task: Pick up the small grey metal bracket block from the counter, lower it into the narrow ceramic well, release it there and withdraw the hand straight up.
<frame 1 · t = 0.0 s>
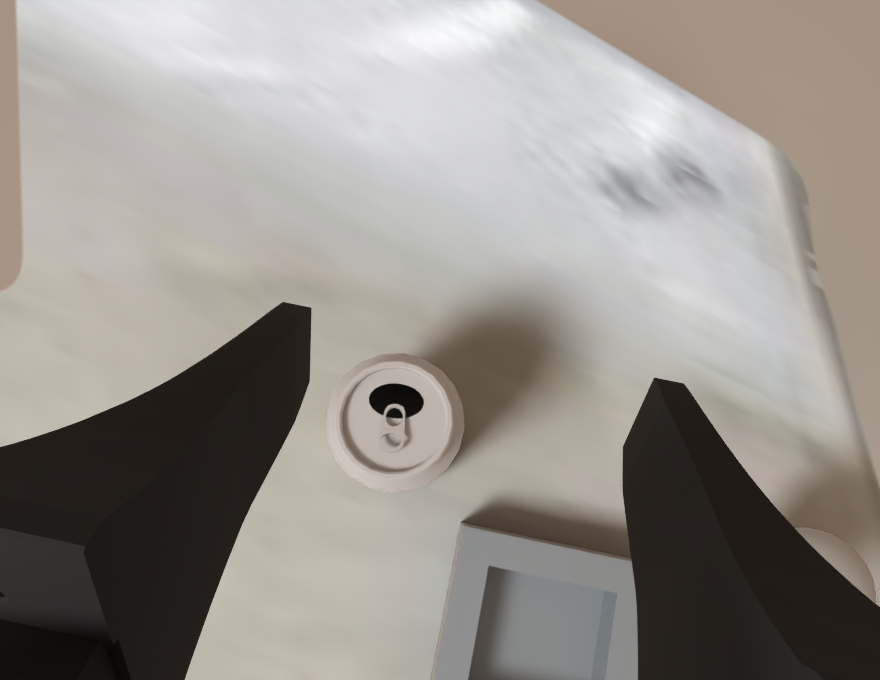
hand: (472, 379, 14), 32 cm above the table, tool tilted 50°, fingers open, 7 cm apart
can: (404, 433, 46), on the table
lightbulb: (741, 565, 44), on the table
well block: (533, 634, 43), on the table
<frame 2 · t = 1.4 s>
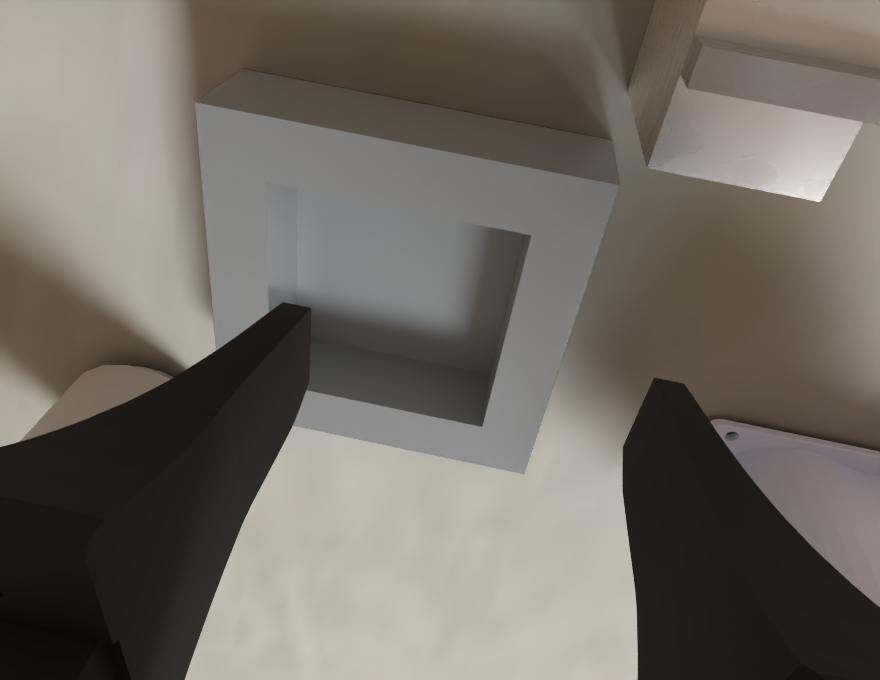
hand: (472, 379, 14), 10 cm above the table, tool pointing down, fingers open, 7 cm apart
can: (158, 411, 32), on the table
bracket: (726, 14, 18), on the table
well block: (405, 264, 25), on the table
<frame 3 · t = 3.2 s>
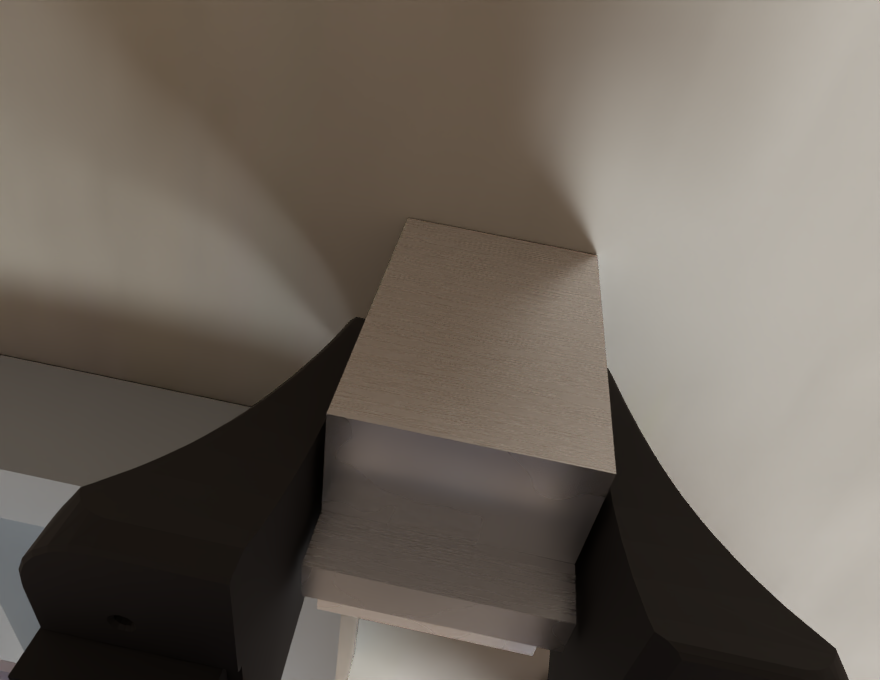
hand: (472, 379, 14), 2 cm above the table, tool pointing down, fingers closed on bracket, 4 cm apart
bracket: (480, 331, 15), on the table, touching gripper
well block: (186, 524, 22), on the table
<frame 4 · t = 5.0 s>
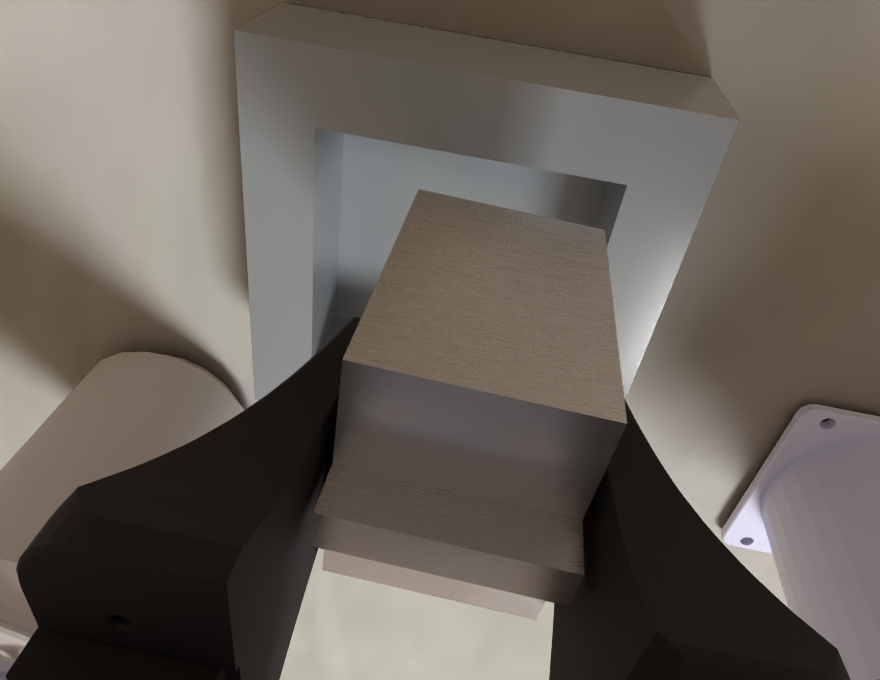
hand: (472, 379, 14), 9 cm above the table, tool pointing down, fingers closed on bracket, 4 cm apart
can: (181, 403, 29), on the table
bracket: (487, 306, 15), point 7 cm above the table, touching gripper
well block: (462, 232, 22), on the table
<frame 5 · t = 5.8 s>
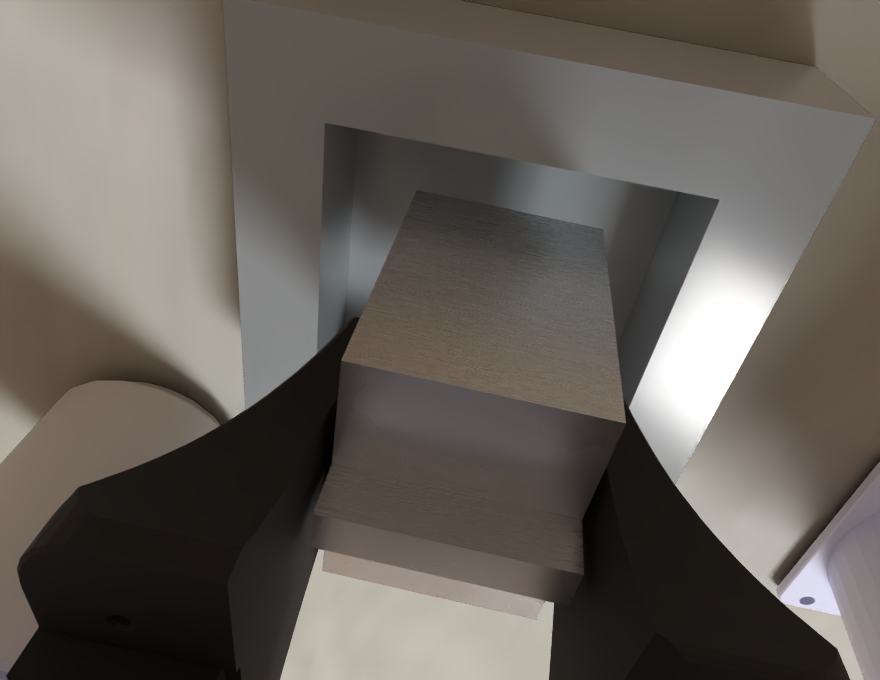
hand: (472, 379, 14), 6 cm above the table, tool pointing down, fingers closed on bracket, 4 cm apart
can: (163, 436, 26), on the table
bracket: (486, 306, 15), point 3 cm above the table, touching gripper
well block: (496, 249, 18), on the table
when the fingers open (4 cm above the table, at t = 6.6 s): bracket stays where it is, resting on well block.
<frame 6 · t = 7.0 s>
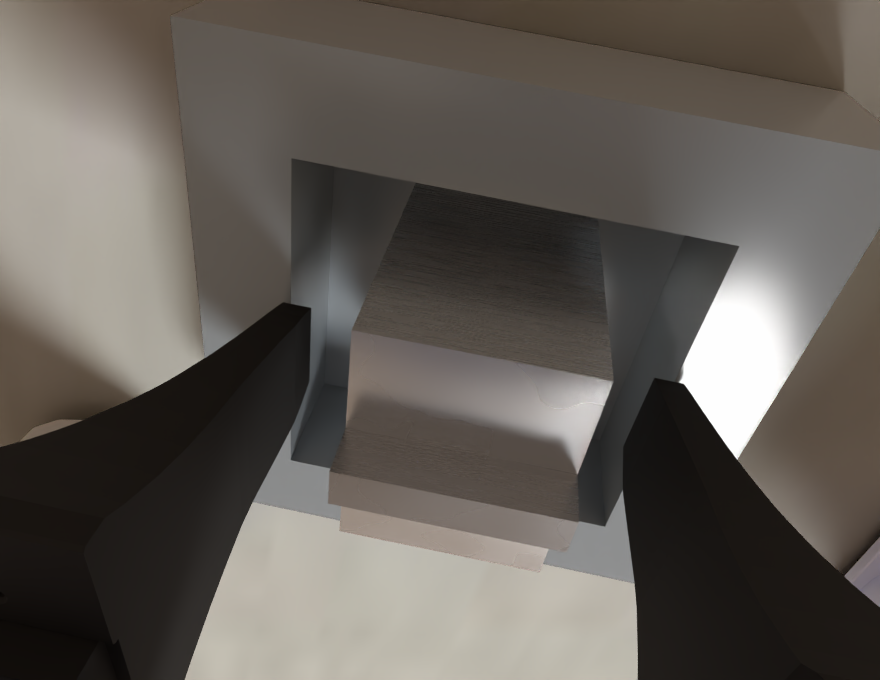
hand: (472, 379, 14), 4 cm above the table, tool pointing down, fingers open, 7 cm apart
can: (136, 473, 24), on the table
bracket: (488, 284, 16), resting on well block
well block: (488, 285, 17), on the table
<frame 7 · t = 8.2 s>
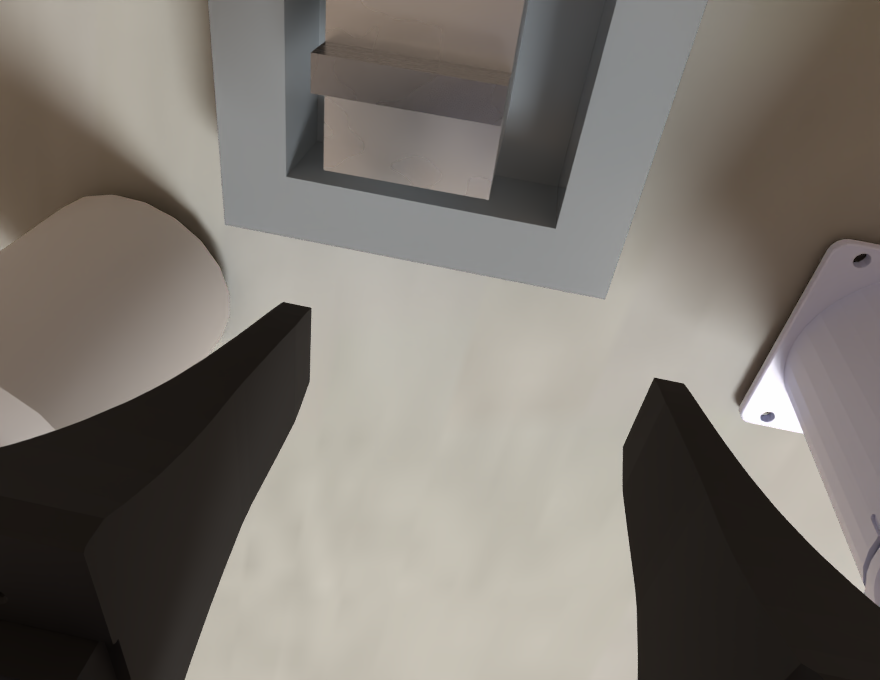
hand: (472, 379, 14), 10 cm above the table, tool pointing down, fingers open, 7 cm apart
can: (152, 269, 27), on the table
bracket: (454, 19, 19), resting on well block
well block: (456, 29, 19), on the table
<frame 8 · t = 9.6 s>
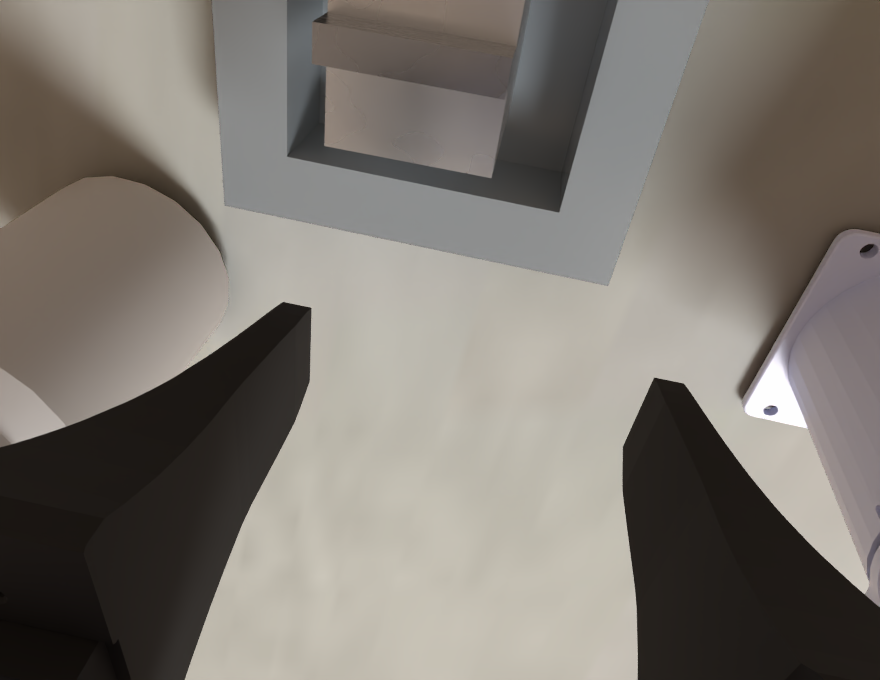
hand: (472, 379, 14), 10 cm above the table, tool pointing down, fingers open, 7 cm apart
can: (152, 253, 27), on the table
well block: (461, 9, 19), on the table
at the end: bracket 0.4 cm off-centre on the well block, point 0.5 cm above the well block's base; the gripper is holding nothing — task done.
